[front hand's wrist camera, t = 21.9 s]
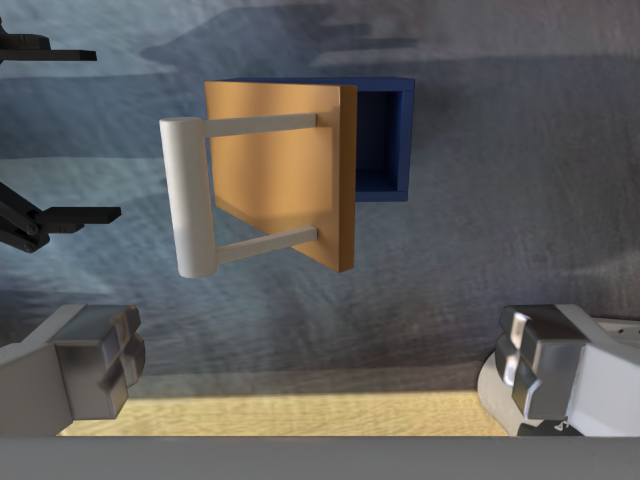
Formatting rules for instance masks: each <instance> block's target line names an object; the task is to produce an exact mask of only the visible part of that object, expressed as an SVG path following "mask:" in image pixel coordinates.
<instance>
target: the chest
mask: <svg viewBox="0 0 640 480" xmlns="http://www.w3.org/2000/svg"><path fill="white" fill-rule="evenodd" d="M216 81H241V82H272V83H303V84H334V85H357V130H356V178H355V202H396V201H407V199H408V183H409V168H410V152H411V136H412V120H413V104H414V88H415V79H408V78H397V77H355V78H236V79H226V80H216Z"/></svg>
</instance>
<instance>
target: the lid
mask: <svg viewBox="0 0 640 480" xmlns="http://www.w3.org/2000/svg"><path fill="white" fill-rule="evenodd" d="M204 85H205V96H206V107H207V118H208V120H203V119H202V118H199V117H173V118H164V119H161V120H160V121H159V122H160V130H161V138H162V146H163V153H164V161H165V169H166V176H167V184H168V192H169V199H170V207H171V215H172V223H173V230H174V238H175V246H176V253H177V261H178V269H179V274H180V275H181V276H183V277H186V278H202V277H206V276H209V275H211V274H213V273H215V272H216V270H217V266H218V265H222V264H225V263H229V262H233V261H237V260H241V259H245V258H248V257H252V256H256V255H260V254H264V253H268V252H271V251H275V250H279V249H283V248H287V247H292V248H294V249H296V250H297V251H299V252H301V253H303V254H305V255H306V256H308V257H310V258H312V259H314V260H316V261H317V262H319V263H321V264H323V265H325V266H327V267H328V268H330V269H332V270H334V271H336V272H338V273H340V272H343V271H346V270H349V269H353V268H354V226H355V178H356V130H357V85H334V84H303V83H272V82H241V81H204ZM205 138H209V139H210V150H211V161H212V172H213V182H214V193H215V204H216V206H217V207H219V208H220V209H222V210H224V211H226V212H228V213H230V214H231V215H233V216H235V217H237V218H239V219H241V220H242V221H244V222H246V223H248V224H250V225H252V226H253V227H255V228H257V229H259V230H261V231H263V232H264V233H266V234H268V235H267V236H263V237H259V238H255V239H250V240H246V241H242V242H238V243H234V244H229V245H225V246H221V247H217V248H215V240H214V230H213V220H212V209H211V199H210V188H209V178H208V168H207V157H206V147H205Z"/></svg>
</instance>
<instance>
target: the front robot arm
mask: <svg viewBox="0 0 640 480" xmlns="http://www.w3.org/2000/svg"><path fill="white" fill-rule="evenodd" d="M140 324H141V321H140V316H139V311H138V309H137V308H136V307H135V306H134V305H97V304H90V305H89V304H68V305H62V306H61V307H60V308H59V309H57V310H56V311H55V312H54V313H53V314H52V315H51V316H50V317H49V318H47V319H46V320H45V321H44V322H43V323H42V324H41V325H40V326H38V327H37V328H36V329H35V330H34V331H33V332H32V333H31V334H30V335H28V336H27V337H26V338H25V339H24V340H23V341H22V342H21V343H11V344H9V345H6V346H4V347H1V348H0V480H640V321H631V320H619V319H606V318H594V317H590V316H589V315H588V314H587V313H586V312H585V311H584V310H583V309H582V308H580V307H579V306H578V305H575V304H556V305H554V304H543V305H508V306H504V307H503V309H502V312H501V315H500V321H499V324H500V325H501V327H502V329H503V330H504V333H503V334H502V335H501V336H500V337H499V338H498V339H497V340H496V346H495V351H494V352H493V354H492V355H491V356H490V357H489V358H488V359H487V361H486V362H485V364H484V366H483V368H482V370H481V372H480V375H479V379H478V396H479V399H480V402H481V404H482V406H483V407H484V409H485V410H486V411H487V412H488V414H490V415H491V416H492V417H493V418H494V419H495V420H496V421H497V422H498V423H499V424H500V425H501V427H502V428H503V429H504V430H505V432H506V433H507V434H508V435H509V436H56V435H57V434H58V433H60V432H61V431H62V430H64V429H65V428H66V427H68V426H69V425H70V424H72V423H73V420H109V419H116V417H117V416H118V414H119V412H120V411H121V409H122V407H123V406H124V404H125V402H126V401H127V399H128V397H129V396H128V390H127V389H128V388H129V387H131V386H132V385H134V384H136V383H137V382H138V380H139V378H140V376H141V375H142V372H143V367H144V363H145V345H144V340H143V339H142V338H141V337H140V336H139V335H138V334H137V333H136V330H137V329H138V327H139V325H140Z"/></svg>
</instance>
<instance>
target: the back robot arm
mask: <svg viewBox="0 0 640 480" xmlns="http://www.w3.org/2000/svg"><path fill="white" fill-rule="evenodd" d="M1 23H2V21H1V17H0V64H1V63H2V62H3V61H4V60H17V61H97V57H96V51H87V50H51V48H50V42H49V38H47V37H45V36H42V35H35V34H8V33H6V32H5V31H4V29H3V28H2V26H1ZM121 215H122V214H121V208H120V207H51V208H49V209H47V210H45V211H42V210H40V209H39V208H37V207H36V206H34V205H33V204H32V203H30V202H29V201H27V200H26V199H24V198H23V197H21V196H20V195H19V194H17V193H16V192H14V191H13V190H11V189H10V188H8V187H7V186H5V185H4V184H3V183H1V182H0V242H2V243H5V244H7V245H10V246H12V247H14V248H17V249H19V250H22V251H24V252H26V253H33V252H35V251H36V250H38V249H39V248H41V247H43V246H44V245H46V244H47V243H49V241H50V237H49V236H48V233H74V232H77V231H78V230H80V229H81V228H83V227H84V224H110V223H111V222H112V221H114V220H115V219H116V218H118V217H119V216H121Z"/></svg>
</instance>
